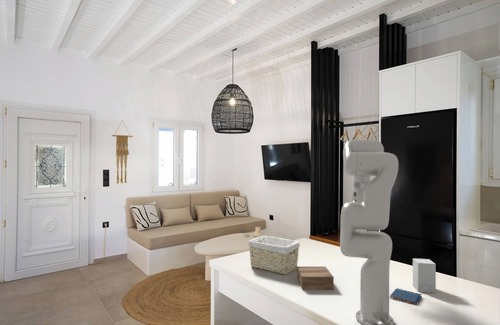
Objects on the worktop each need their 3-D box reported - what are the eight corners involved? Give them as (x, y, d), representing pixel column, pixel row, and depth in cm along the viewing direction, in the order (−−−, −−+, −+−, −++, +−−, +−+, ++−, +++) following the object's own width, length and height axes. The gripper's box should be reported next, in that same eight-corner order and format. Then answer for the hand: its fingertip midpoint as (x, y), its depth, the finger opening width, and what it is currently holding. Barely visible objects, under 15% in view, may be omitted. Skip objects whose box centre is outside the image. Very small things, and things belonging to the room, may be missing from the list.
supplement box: (436, 293, 133) (436, 264, 134) (417, 291, 135) (417, 262, 135) (429, 286, 141) (429, 259, 141) (412, 285, 142) (412, 257, 142)
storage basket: (300, 268, 165) (301, 240, 165) (286, 277, 152) (286, 247, 152) (263, 260, 179) (263, 234, 179) (247, 267, 165) (247, 240, 166)
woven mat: (395, 291, 136) (395, 286, 136) (422, 298, 129) (422, 293, 129) (388, 299, 128) (388, 294, 128) (417, 307, 121) (417, 302, 121)
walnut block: (333, 290, 136) (333, 277, 136) (302, 290, 136) (302, 276, 136) (325, 278, 150) (325, 266, 150) (296, 278, 150) (297, 266, 150)
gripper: (355, 186, 142) (355, 223, 142) (380, 185, 151) (379, 220, 151) (343, 185, 149) (343, 221, 149) (367, 184, 157) (367, 218, 157)
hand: (361, 220), depth 150 cm, fingers open, 9 cm apart
